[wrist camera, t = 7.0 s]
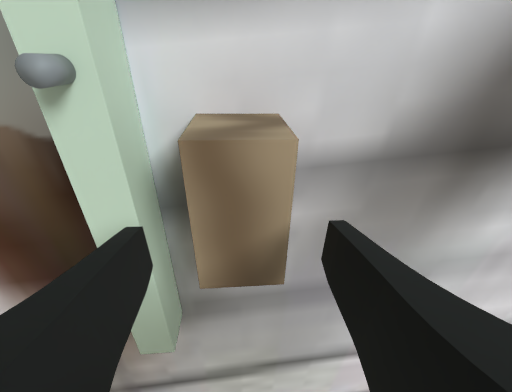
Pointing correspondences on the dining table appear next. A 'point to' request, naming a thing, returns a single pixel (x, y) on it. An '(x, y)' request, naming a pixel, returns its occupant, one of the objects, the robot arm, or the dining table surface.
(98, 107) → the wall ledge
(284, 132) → the frame block
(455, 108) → the dining table surface
